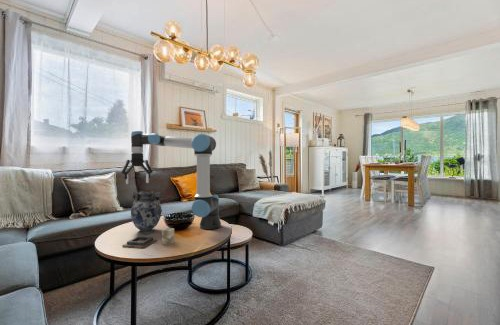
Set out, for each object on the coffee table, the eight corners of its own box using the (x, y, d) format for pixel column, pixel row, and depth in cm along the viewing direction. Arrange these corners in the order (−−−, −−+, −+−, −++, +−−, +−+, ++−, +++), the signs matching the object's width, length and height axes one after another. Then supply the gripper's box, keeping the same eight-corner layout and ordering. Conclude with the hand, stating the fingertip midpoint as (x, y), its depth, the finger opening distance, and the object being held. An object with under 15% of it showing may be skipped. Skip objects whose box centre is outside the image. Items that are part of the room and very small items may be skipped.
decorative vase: (167, 229, 168) (167, 189, 168) (154, 237, 150) (154, 192, 150) (138, 228, 170) (139, 189, 170) (122, 236, 152) (122, 192, 152)
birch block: (174, 241, 141) (174, 228, 141) (169, 244, 136) (169, 230, 136) (166, 241, 142) (166, 228, 142) (161, 244, 137) (161, 230, 137)
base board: (157, 240, 143) (157, 236, 143) (143, 248, 130) (143, 243, 130) (137, 239, 145) (137, 235, 145) (122, 247, 132) (122, 242, 132)
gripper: (152, 153, 179) (153, 182, 179) (116, 152, 162) (116, 184, 162) (157, 153, 174) (157, 182, 174) (119, 152, 157) (119, 184, 156)
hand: (137, 183), depth 168 cm, fingers open, 13 cm apart
